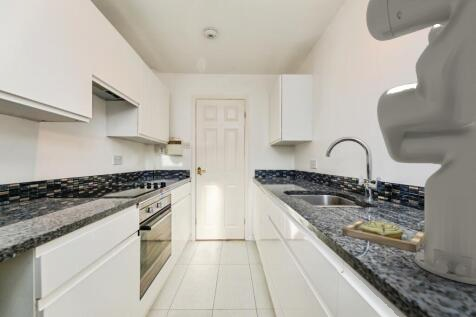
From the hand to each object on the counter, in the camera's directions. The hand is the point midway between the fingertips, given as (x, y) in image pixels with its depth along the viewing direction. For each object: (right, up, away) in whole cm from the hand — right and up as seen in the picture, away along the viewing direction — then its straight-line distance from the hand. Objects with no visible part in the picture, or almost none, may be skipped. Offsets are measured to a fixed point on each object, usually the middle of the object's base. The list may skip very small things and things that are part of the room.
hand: (459, 135), depth 62 cm
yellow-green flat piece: (-18, -31, +6) cm, 36 cm away
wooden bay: (-17, -30, +6) cm, 35 cm away
